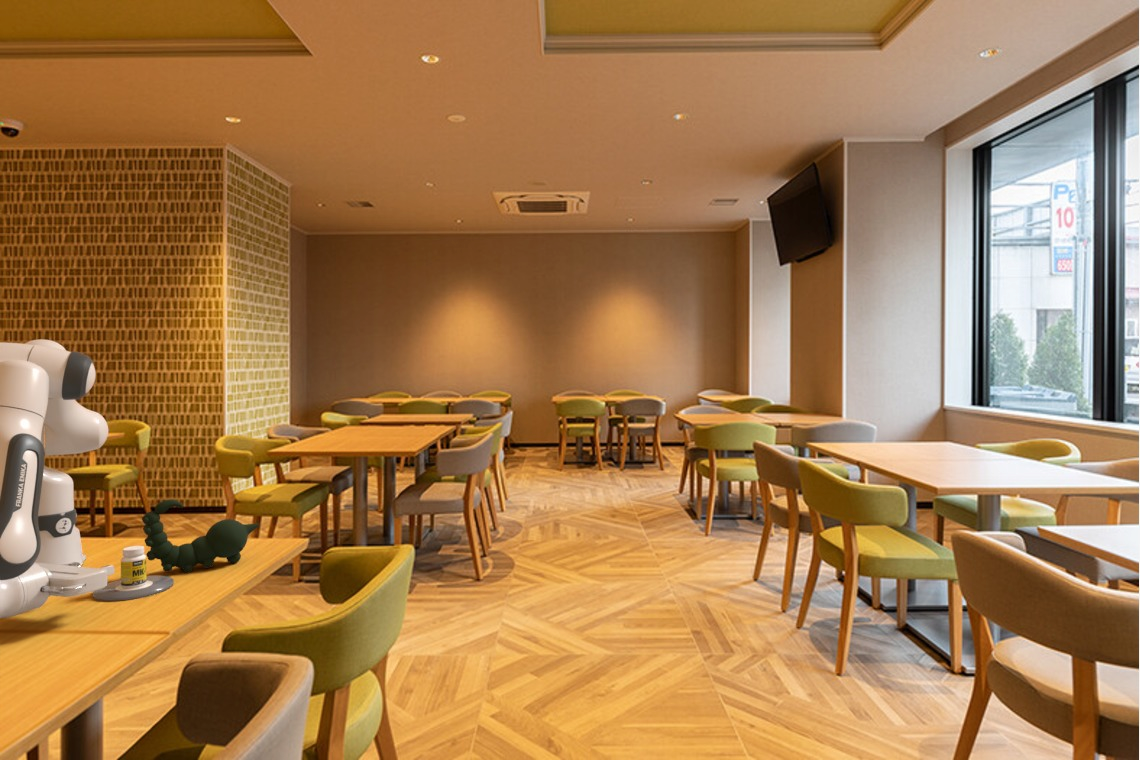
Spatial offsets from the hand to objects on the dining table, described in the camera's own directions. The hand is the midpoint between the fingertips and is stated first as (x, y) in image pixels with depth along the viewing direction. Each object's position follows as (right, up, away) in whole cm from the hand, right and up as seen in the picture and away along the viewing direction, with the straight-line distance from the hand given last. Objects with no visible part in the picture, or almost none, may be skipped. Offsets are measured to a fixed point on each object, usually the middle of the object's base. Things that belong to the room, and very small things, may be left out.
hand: (94, 567), depth 140 cm
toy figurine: (+9, -7, +26) cm, 28 cm away
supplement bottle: (+2, -7, +9) cm, 11 cm away
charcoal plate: (+2, -7, +9) cm, 12 cm away
